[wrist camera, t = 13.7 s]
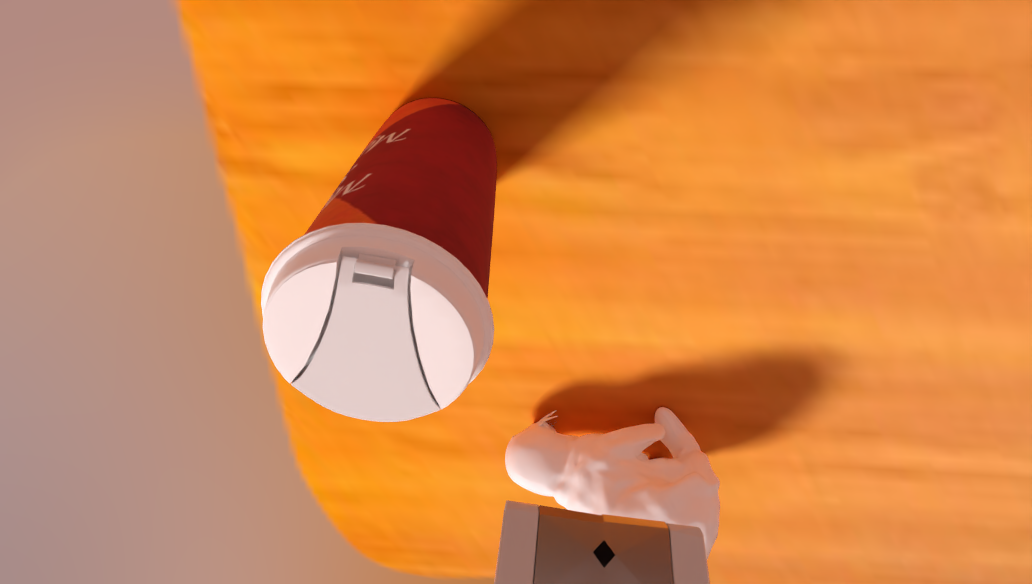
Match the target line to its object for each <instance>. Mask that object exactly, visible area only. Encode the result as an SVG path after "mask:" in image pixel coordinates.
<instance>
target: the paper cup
mask: <svg viewBox="0 0 1032 584" xmlns="http://www.w3.org/2000/svg"><path fill="white" fill-rule="evenodd" d="M496 173H497V156H496V148H495V144H494V141H493V138H492V135H491V133H490V131H489V130H488V128H487V126H486V125H485V124H484V122H483V121H482V120H481V119H480V118H479V117H478V116H477V115H476V114H475V113H474V112H472V111H471V110H470V109H468V108H466V107H465V106H463V105H461V104H459V103H456V102H454V101H450V100H447V99H441V98H424V99H419V100H415V101H412V102H409V103H407V104H405V105H403V106H402V107H400V108H399V109H398V110H396V111H395V112H394V113H393V114H392V115H391V116H390V117H389V118H388V119H387V120H386V121H385V123H384V124H383V125H382V126H381V128H380V129H379V130H378V132H377V133H376V134H375V136H374V137H373V138H372V140H371V141H370V143H369V144H368V145H367V147H366V148H365V149H364V151H363V152H362V154H361V155H360V156H359V158H358V159H357V161H356V162H355V163H354V165H353V166H352V168H351V169H350V171H349V172H348V173H347V175H346V176H345V178H344V179H343V180H342V182H341V183H340V185H339V186H338V188H337V189H336V190H335V192H334V193H333V195H332V196H331V198H330V199H329V200H328V202H327V203H326V205H325V206H324V208H323V209H322V210H321V212H320V213H319V215H318V216H317V218H316V219H315V220H314V222H313V223H312V225H311V226H310V228H309V229H308V230H307V232H306V233H305V235H304V236H302V237H300V238H298V239H296V240H295V241H293V242H292V243H291V244H290V245H288V246H287V247H286V248H285V249H283V250H282V252H281V253H280V254H279V255H278V256H277V258H276V259H275V260H274V261H273V263H272V265H271V266H270V268H269V270H268V272H267V274H266V276H265V280H264V284H263V287H262V297H261V307H262V313H263V332H264V339H265V343H266V346H267V349H268V352H269V355H270V357H271V359H272V361H273V362H274V364H275V366H276V368H277V369H278V370H279V372H280V373H281V374H282V376H283V377H284V378H285V379H286V380H287V381H288V382H289V383H291V382H292V384H291V385H292V386H293V387H295V388H296V389H298V390H299V391H300V392H302V393H303V394H304V395H306V396H307V397H309V398H310V399H312V400H313V401H315V402H317V403H318V404H320V405H321V406H323V407H325V408H327V409H330V410H332V411H334V412H336V413H339V414H343V415H346V416H349V417H353V418H358V419H363V420H370V421H379V422H398V421H406V420H411V419H414V418H418V417H421V416H425V415H428V414H430V413H433V412H436V411H439V410H440V408H441V409H443V408H445V407H446V406H448V405H449V404H450V403H452V402H453V401H454V400H455V399H456V398H458V397H459V395H460V394H461V393H462V392H463V391H464V389H465V388H466V387H467V386H468V384H469V383H470V382H472V381H473V380H474V379H475V377H476V376H477V375H478V374H479V373H480V371H481V370H482V369H483V367H484V365H485V363H486V361H487V360H488V358H489V355H490V351H491V348H492V345H493V335H494V324H493V315H492V312H491V308H490V305H489V302H488V299H487V297H488V284H489V272H490V259H491V247H492V234H493V221H494V207H495V192H496Z"/></svg>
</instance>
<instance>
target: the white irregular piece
mask: <svg viewBox="0 0 1032 584" xmlns="http://www.w3.org/2000/svg"><path fill="white" fill-rule="evenodd" d="M555 411H557V410H555ZM555 411H554V412H555ZM554 412H552V413H550V414H548V415H546V416H545V417H543V418H542V419H541V420H540V421H539V422H537V423H533V424H532V425H530V426H529V427H528V428H526V429H525V430H523V431H522V432H520V433H519V434H517V435H515V436H513V437H512V439H511V440H510V442H509V443H508V446H507V450H506V456H505V464H506V469H507V472H508V474H509V476H510V478H511V479H512V480H513V481H514V482H515V483H517V484H518V485H520V486H521V487H523V488H525V489H527V490H529V491H532V492H534V493H537V494H540V495H544V496H553V497H554V498H555V500H556V501H557V502H558V503H559V504H560V505H562V506H564V507H565V508H566V509H567V510H572V511H579V512H585V513H591V514H597V515H602V514H606V515H614V516H622V517H630V518H638V519H646V520H655V521H663V522H665V523H669V524H678V525H686V526H694V527H699V528H700V529H701V531H702V533H703V535H704V543H705V550H706V558H707V559H708V556H709V553H710V551H711V548H712V546H713V544H714V542H715V540H716V538H717V535H718V527H719V512H720V502H719V496H718V489H719V484H720V482H719V479H718V478H717V477H716V475H715V474H714V472H713V470H712V468H711V466H710V463H709V460H708V457H707V455H706V454H705V453H703V452H701V450H700V447H699V445H698V443H697V442H696V440H695V438H694V437H693V436H692V435H691V434H690V433H689V432H688V430H687V429H686V427H685V426H684V425H683V424H682V423H681V421H680V420H679V419H678V418H677V417H676V415H675V414H674V413H673V412H672V411H671V410H670V409H668V408H665V407H660V408H658V409H657V411H656V413H655V423H650V424H642V425H637V426H632V427H626V428H622V429H619V430H615V431H612V432H609V433H606V434H587V435H583V436H580V437H578V436H571V435H564V434H560V433H557V432H556V430H555V429H554V428H553V427H551V425H550V426H549V425H548V423H546V422H545V421H548V420H550V419H553V418H555V417H558V416H554V417H549V416H551V415H552V414H553V413H554ZM548 417H549V418H548ZM556 423H557V422H556ZM549 424H550V423H549ZM552 426H554V425H552ZM658 440H660V441H661V442H662V443H663V444H664V445H665V446H666V447H667V448H668V449H669V451H670V452H671V454H672V456H673V459H669V458H664V457H661V458H656V459H651V460H649V459H648V457H647V455H646V454H643V453H642V451H643V450H644V449H646V448H647V447H648V446H650V445H651V444H653V443H654V442H656V441H658Z"/></svg>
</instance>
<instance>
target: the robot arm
mask: <svg viewBox="0 0 1032 584" xmlns="http://www.w3.org/2000/svg"><path fill="white" fill-rule="evenodd" d="M494 584H710V581H709V574H708V566H707V558H706V550H705V543H704V535H703V533H702V531H701V529H700V528H699V527H694V526H686V525H678V524H669V523H665V522H663V521H655V520H646V519H638V518H630V517H622V516H614V515H606V514H602V515H597V514H591V513H585V512H579V511H572V510H566V509H560V508H553V507H547V506H541V505H540V506H539V507H538V505H536V504H529V503H522V502H514V501H506V505H505V510H504V516H503V523H502V530H501V538H500V545H499V552H498V559H497V566H496V573H495V581H494Z"/></svg>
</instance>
